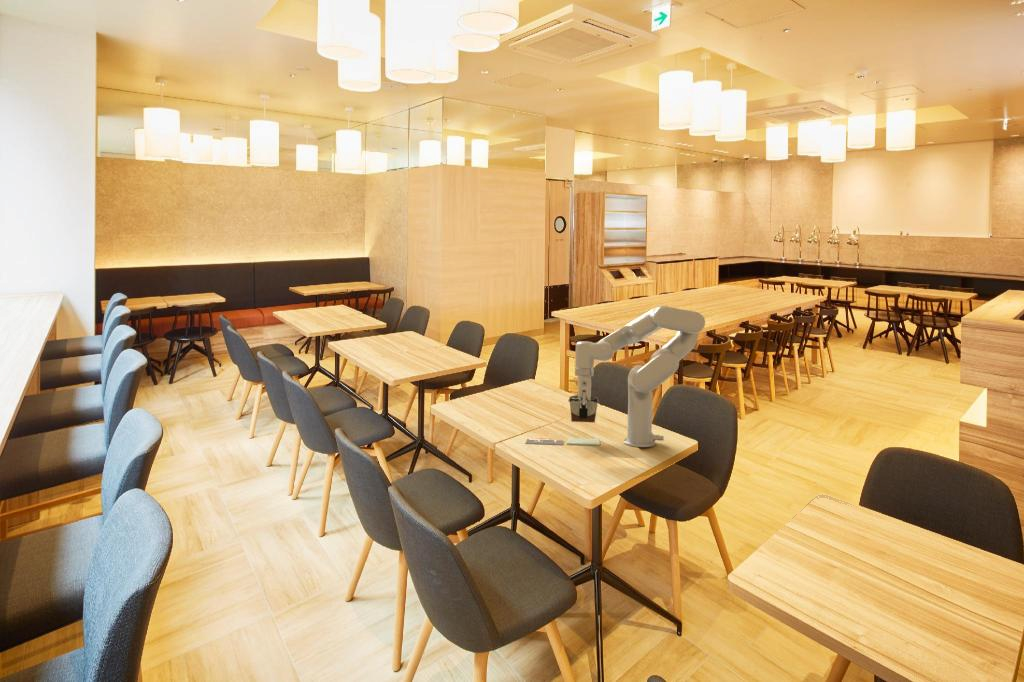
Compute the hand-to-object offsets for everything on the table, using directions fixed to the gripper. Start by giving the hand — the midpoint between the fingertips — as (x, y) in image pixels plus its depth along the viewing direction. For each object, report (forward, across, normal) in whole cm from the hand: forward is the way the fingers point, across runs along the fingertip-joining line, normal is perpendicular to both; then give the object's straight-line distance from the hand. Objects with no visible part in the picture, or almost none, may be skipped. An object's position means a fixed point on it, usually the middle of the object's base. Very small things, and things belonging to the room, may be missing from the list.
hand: (583, 415), depth 224 cm
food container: (+2, +1, 0) cm, 2 cm away
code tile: (+11, -1, +15) cm, 19 cm away
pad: (+11, 0, 0) cm, 11 cm away
